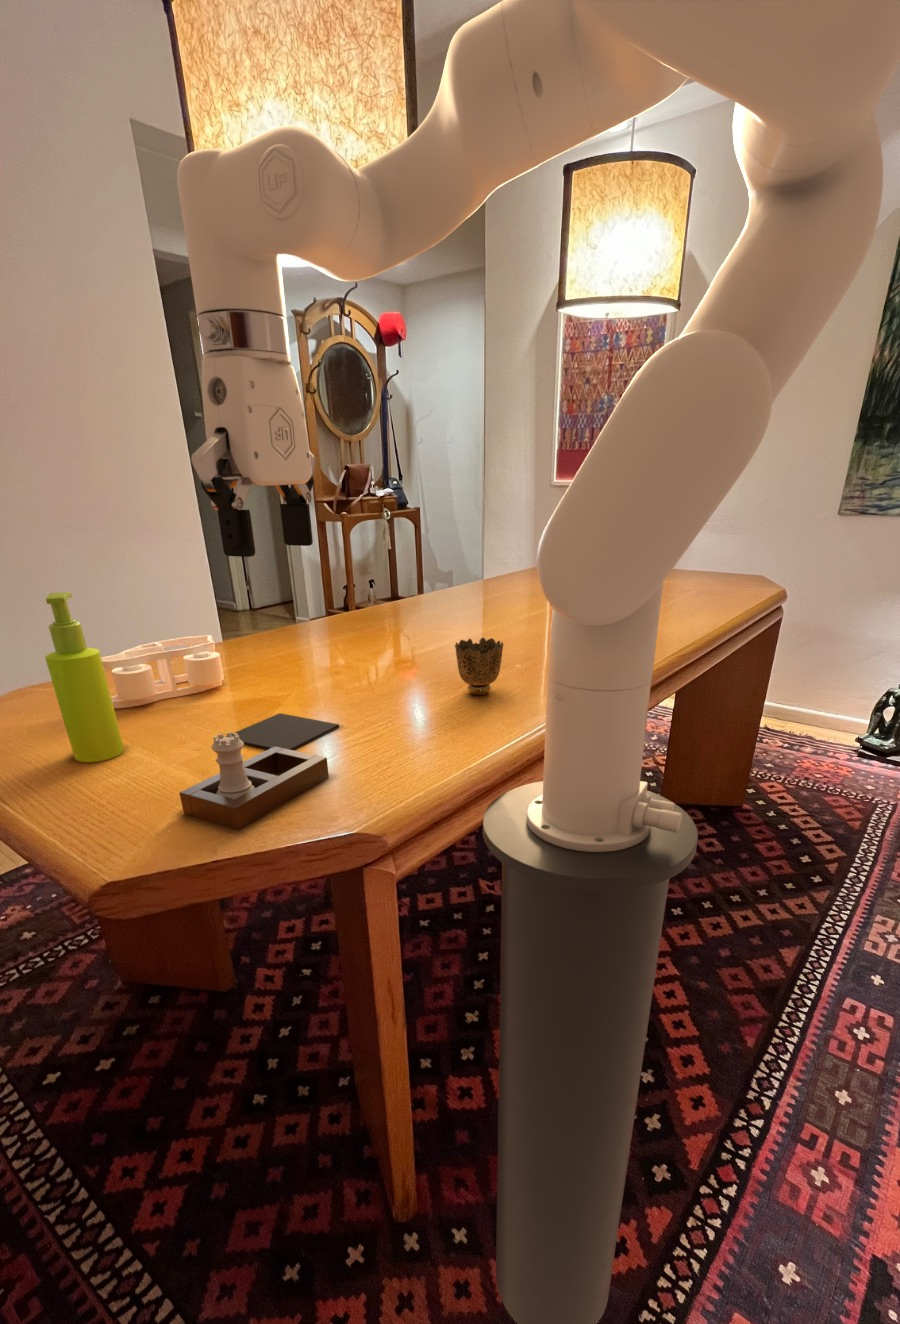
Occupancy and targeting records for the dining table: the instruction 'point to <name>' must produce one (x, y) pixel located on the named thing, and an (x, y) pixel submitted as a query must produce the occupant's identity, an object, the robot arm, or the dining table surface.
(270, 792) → the holder
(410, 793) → the dining table surface
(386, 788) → the dining table surface
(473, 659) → the cup
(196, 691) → the skeletal toy car
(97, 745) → the soap dispenser
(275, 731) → the coaster
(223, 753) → the rook chess piece
